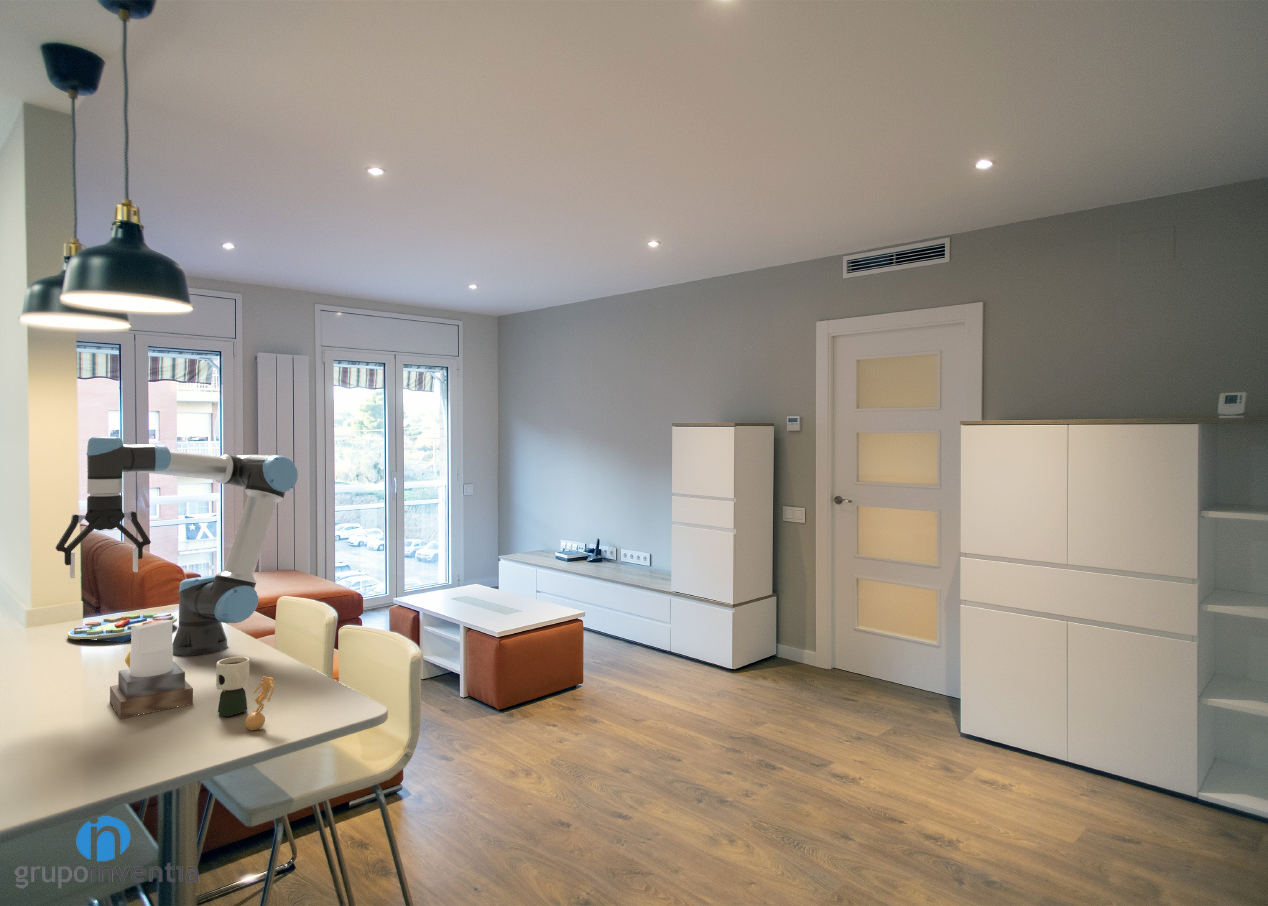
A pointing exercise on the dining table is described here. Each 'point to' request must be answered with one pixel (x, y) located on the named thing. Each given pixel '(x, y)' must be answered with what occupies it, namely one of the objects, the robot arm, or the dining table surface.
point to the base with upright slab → (151, 649)
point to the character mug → (232, 684)
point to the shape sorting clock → (116, 627)
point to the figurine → (260, 704)
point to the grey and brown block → (150, 692)
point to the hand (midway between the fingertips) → (104, 574)
